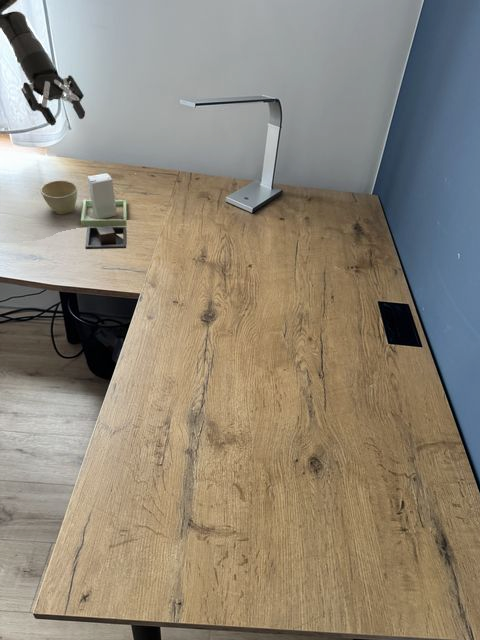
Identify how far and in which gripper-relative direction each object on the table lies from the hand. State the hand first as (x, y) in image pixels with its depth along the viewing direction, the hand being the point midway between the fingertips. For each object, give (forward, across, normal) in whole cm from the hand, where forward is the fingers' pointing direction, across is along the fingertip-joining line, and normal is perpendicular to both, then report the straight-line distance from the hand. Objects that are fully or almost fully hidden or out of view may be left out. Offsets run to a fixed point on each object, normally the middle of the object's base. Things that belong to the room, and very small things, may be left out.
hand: (68, 120), depth 129 cm
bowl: (+14, -1, +26) cm, 30 cm away
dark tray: (+30, -3, +10) cm, 32 cm away
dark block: (+30, -3, +10) cm, 32 cm away
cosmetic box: (+21, +6, +18) cm, 29 cm away
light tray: (+22, +6, +19) cm, 29 cm away
